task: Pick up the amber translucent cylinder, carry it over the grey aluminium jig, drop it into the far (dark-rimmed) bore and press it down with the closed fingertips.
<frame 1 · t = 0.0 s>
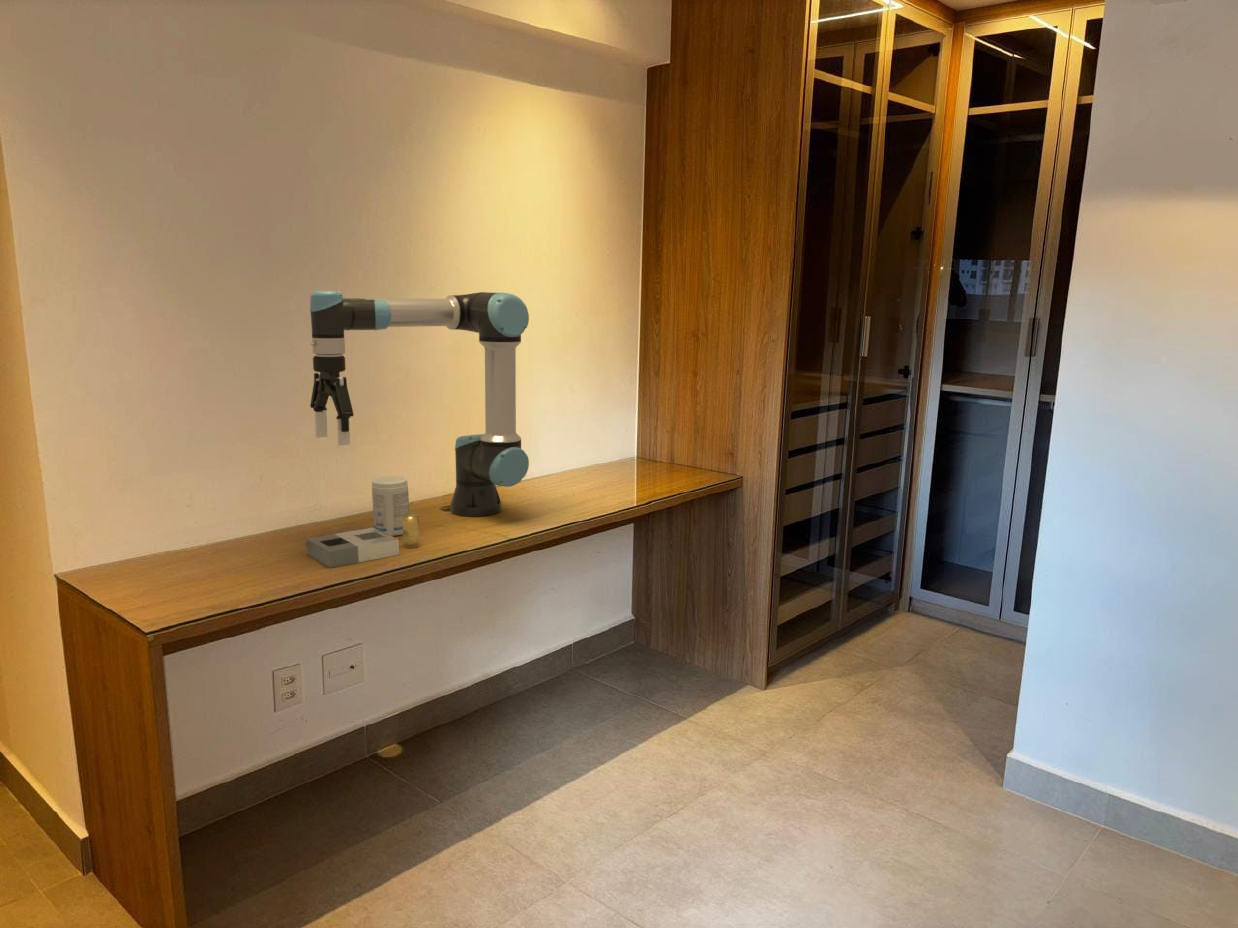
hand: (332, 441, 222), 28 cm above the table, fingers open, 13 cm apart
jig: (352, 554, 224), on the table
supplement tub: (391, 532, 244), on the table
amber translucent cylinder: (411, 546, 232), on the table
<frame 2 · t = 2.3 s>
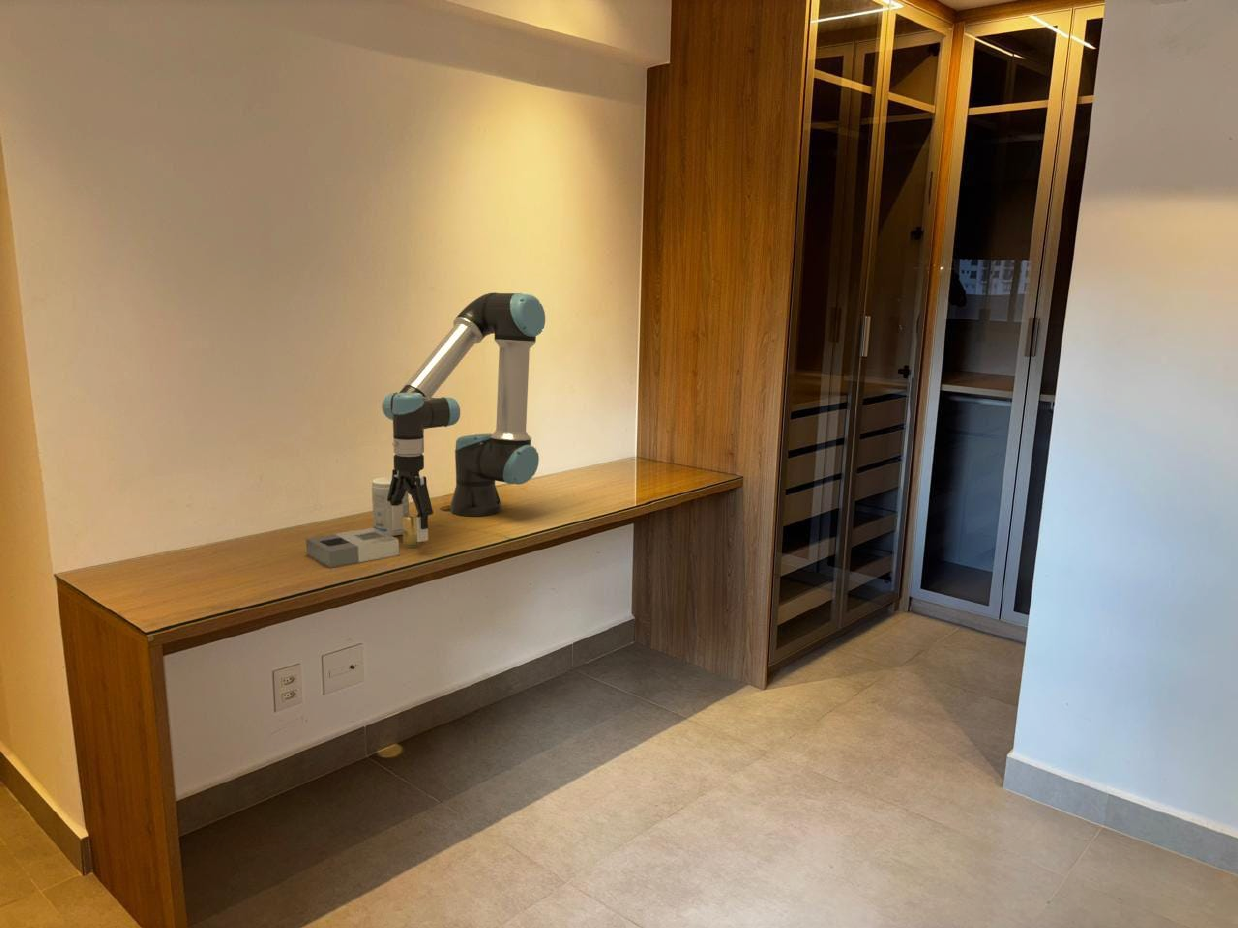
hand: (409, 535, 231), 3 cm above the table, fingers open, 13 cm apart
nothing on the table moved.
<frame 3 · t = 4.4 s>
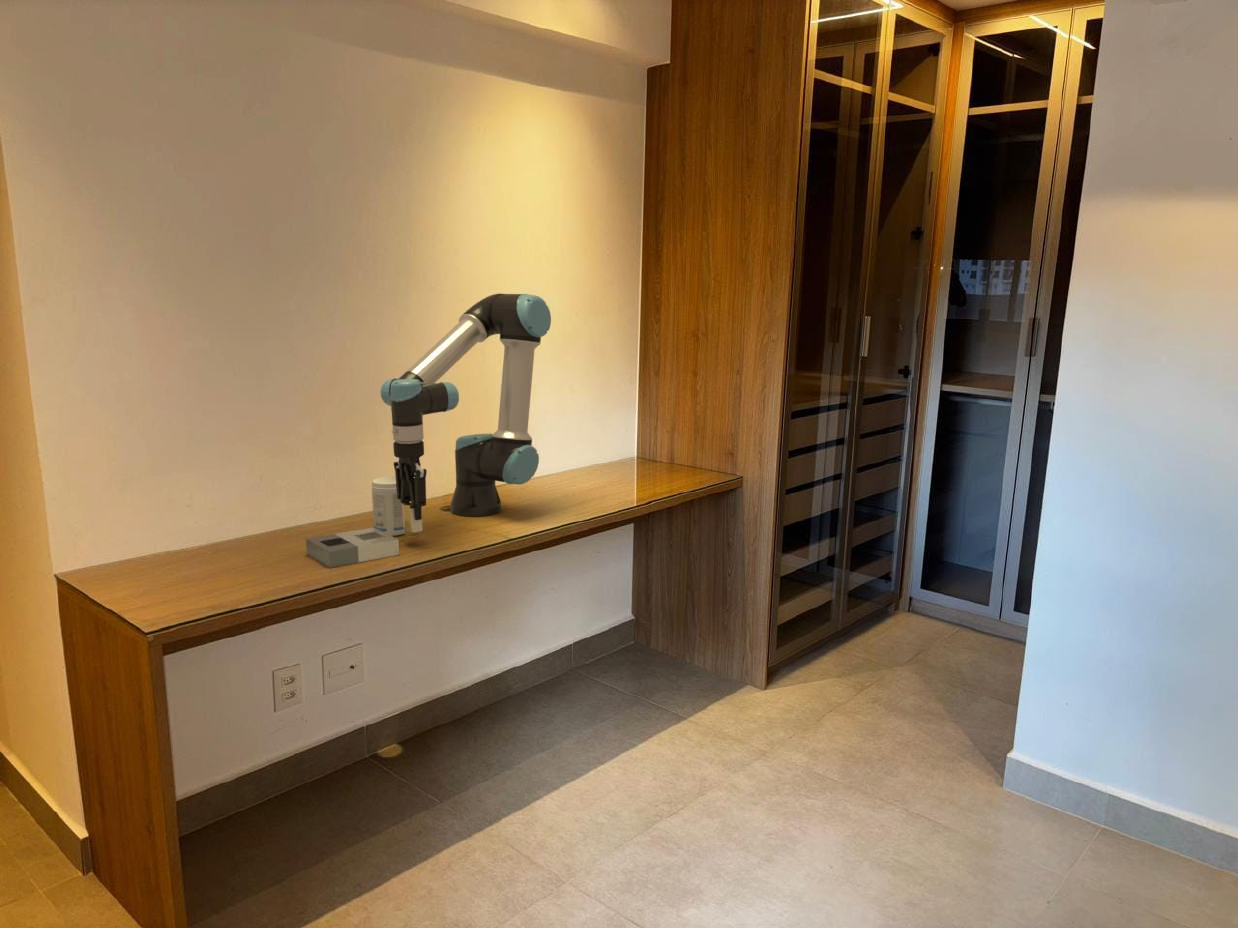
hand: (412, 529, 232), 4 cm above the table, fingers closed on amber translucent cylinder, 4 cm apart
amber translucent cylinder: (412, 534, 232), point 3 cm above the table, touching gripper
everything else where it was.
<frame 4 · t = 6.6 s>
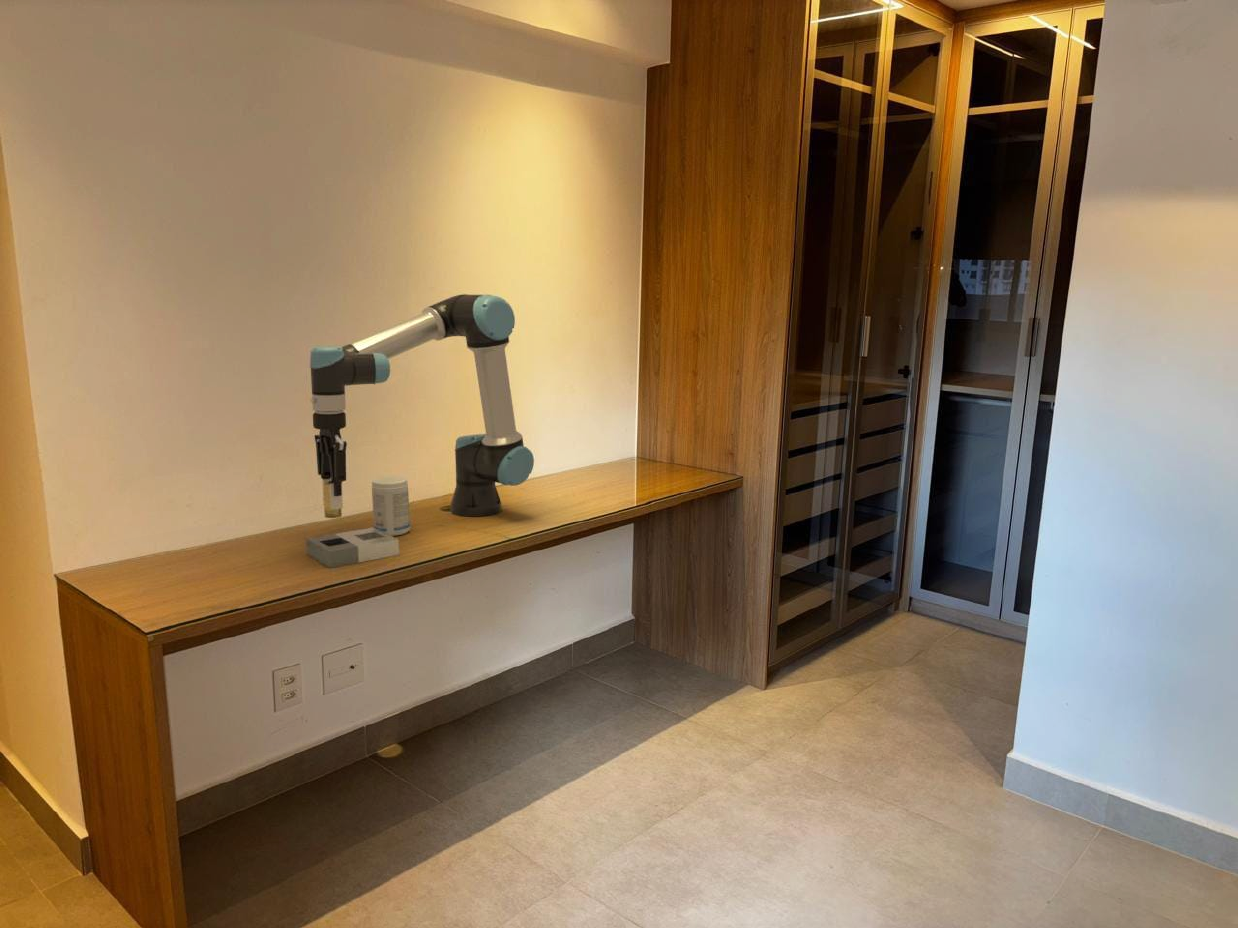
hand: (333, 506, 218), 13 cm above the table, fingers closed on amber translucent cylinder, 4 cm apart
amber translucent cylinder: (333, 516, 219), point 11 cm above the table, touching gripper
everything else where it was.
when the fingers open (5 cm above the table, at t = 8.6 s): amber translucent cylinder drops 3 cm, resting in jig.
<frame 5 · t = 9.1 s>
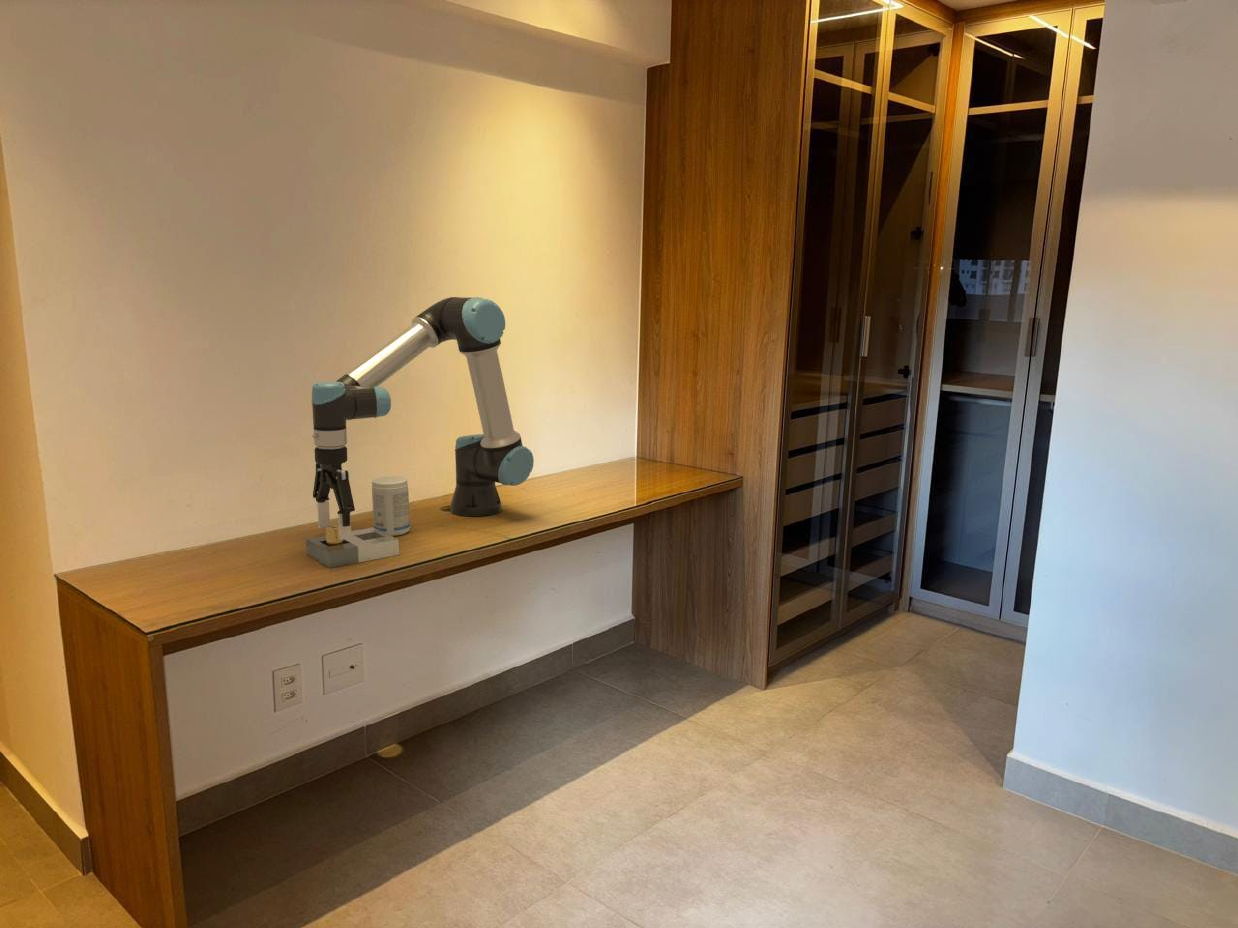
hand: (334, 533, 220), 6 cm above the table, fingers open, 12 cm apart
amber translucent cylinder: (335, 557, 221), resting in jig
everything else where it was.
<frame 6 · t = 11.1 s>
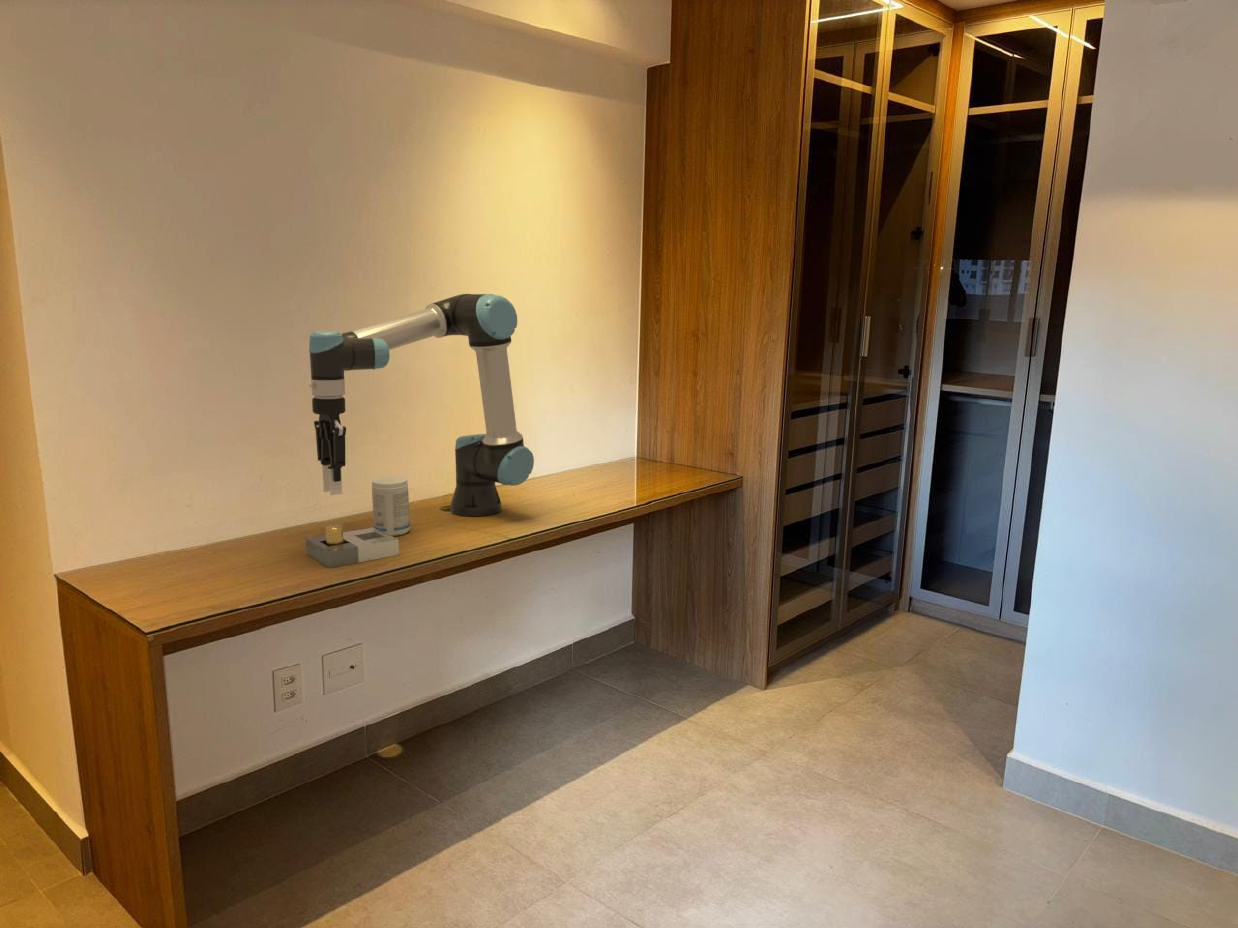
hand: (332, 492, 218), 17 cm above the table, fingers open, 3 cm apart
nothing on the table moved.
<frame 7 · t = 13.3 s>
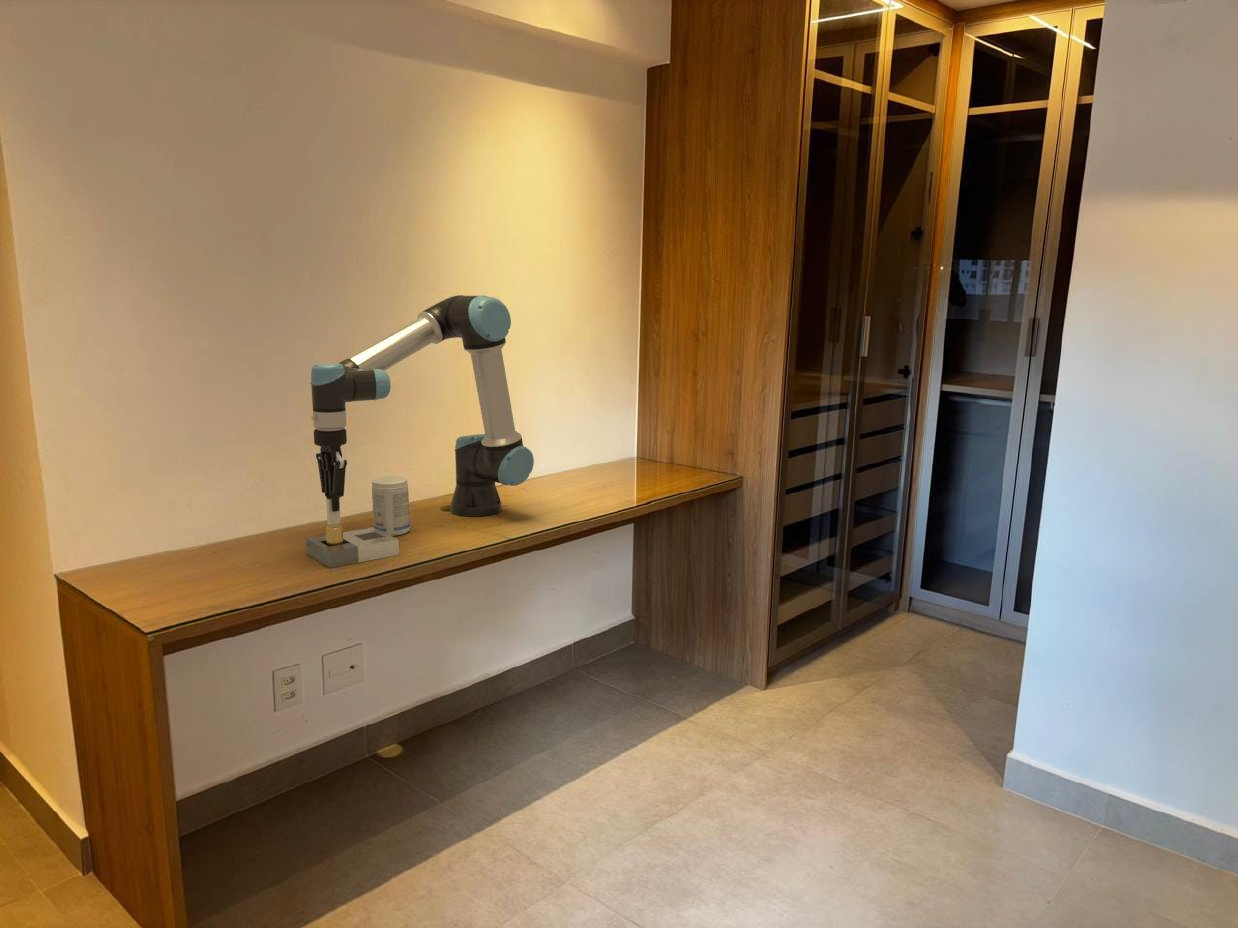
hand: (333, 523, 219), 9 cm above the table, fingers closed
nothing on the table moved.
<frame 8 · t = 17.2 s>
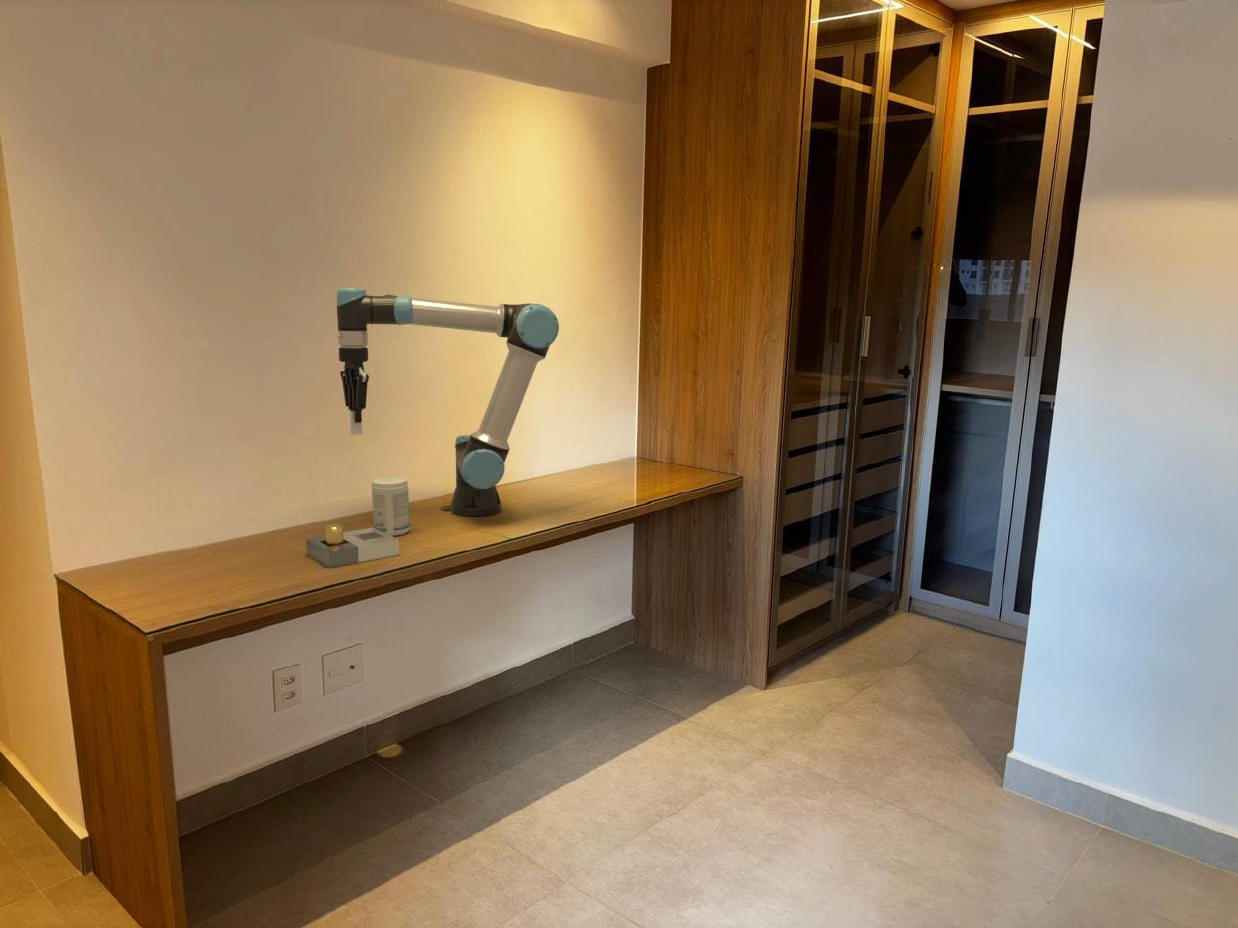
hand: (356, 434, 243), 26 cm above the table, fingers closed
nothing on the table moved.
at the end: amber translucent cylinder 0.0 cm from the target spot on the jig, point 0.0 cm above the jig's base; amber translucent cylinder tilted 0°; the gripper is holding nothing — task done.
